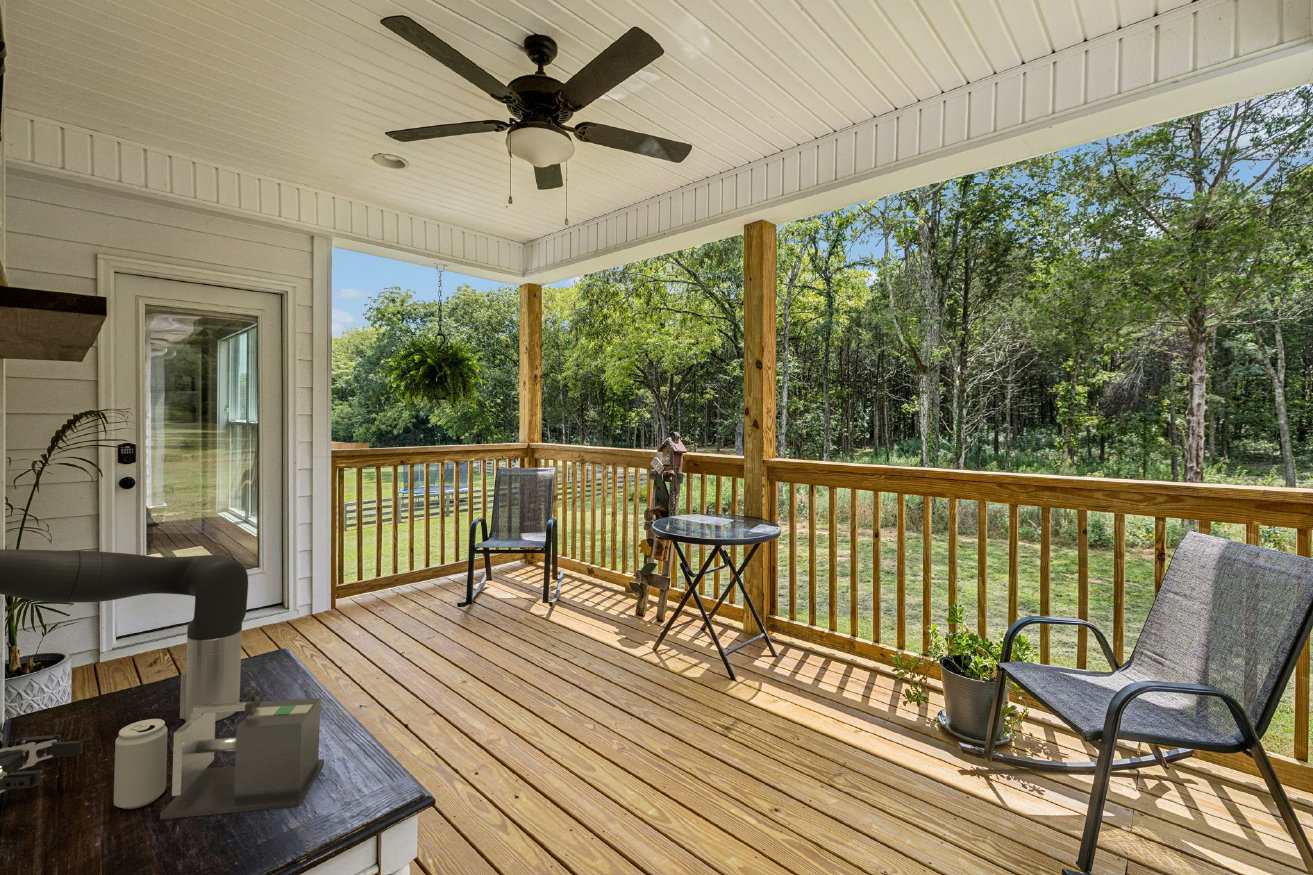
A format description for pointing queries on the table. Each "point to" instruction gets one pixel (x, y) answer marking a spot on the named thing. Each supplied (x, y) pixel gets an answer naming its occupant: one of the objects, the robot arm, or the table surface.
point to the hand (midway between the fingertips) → (61, 762)
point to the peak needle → (252, 703)
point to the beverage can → (140, 763)
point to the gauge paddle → (199, 744)
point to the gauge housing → (260, 764)
